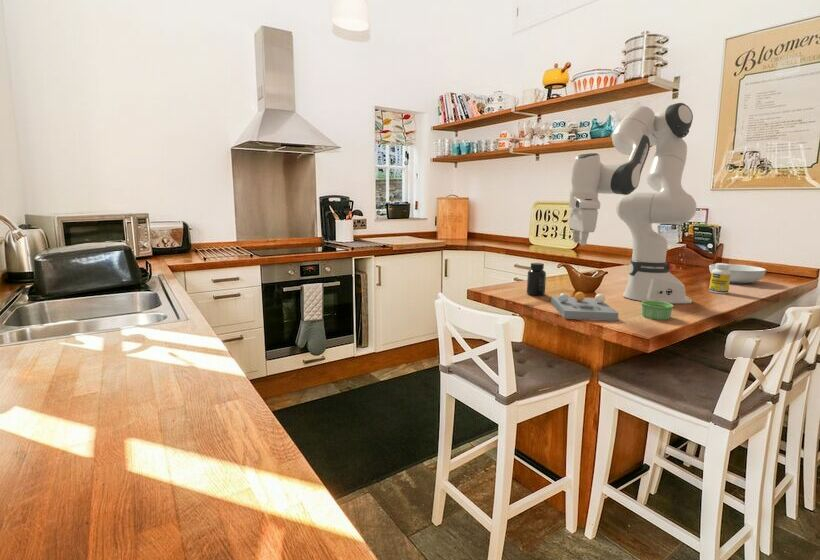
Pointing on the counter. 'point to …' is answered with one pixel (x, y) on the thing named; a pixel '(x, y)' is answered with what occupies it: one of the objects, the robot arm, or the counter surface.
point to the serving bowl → (743, 273)
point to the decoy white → (599, 298)
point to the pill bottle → (720, 279)
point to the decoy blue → (563, 297)
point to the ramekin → (656, 310)
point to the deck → (584, 309)
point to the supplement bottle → (536, 280)
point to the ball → (579, 296)
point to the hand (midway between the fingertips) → (579, 243)
